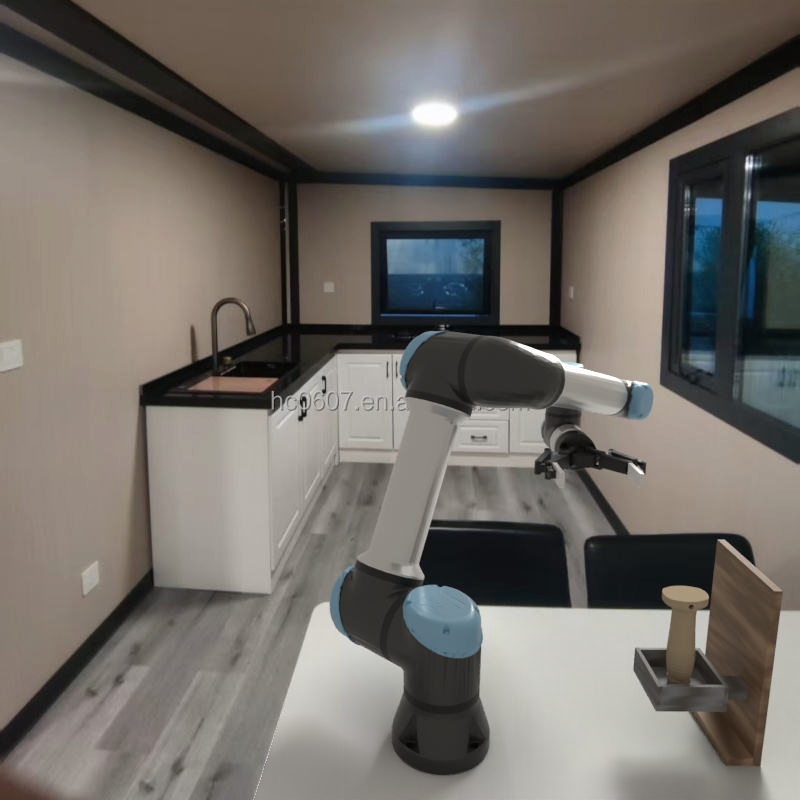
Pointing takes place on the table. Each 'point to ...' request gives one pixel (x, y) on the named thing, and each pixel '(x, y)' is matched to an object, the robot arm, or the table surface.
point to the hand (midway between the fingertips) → (602, 481)
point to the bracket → (726, 662)
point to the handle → (682, 630)
